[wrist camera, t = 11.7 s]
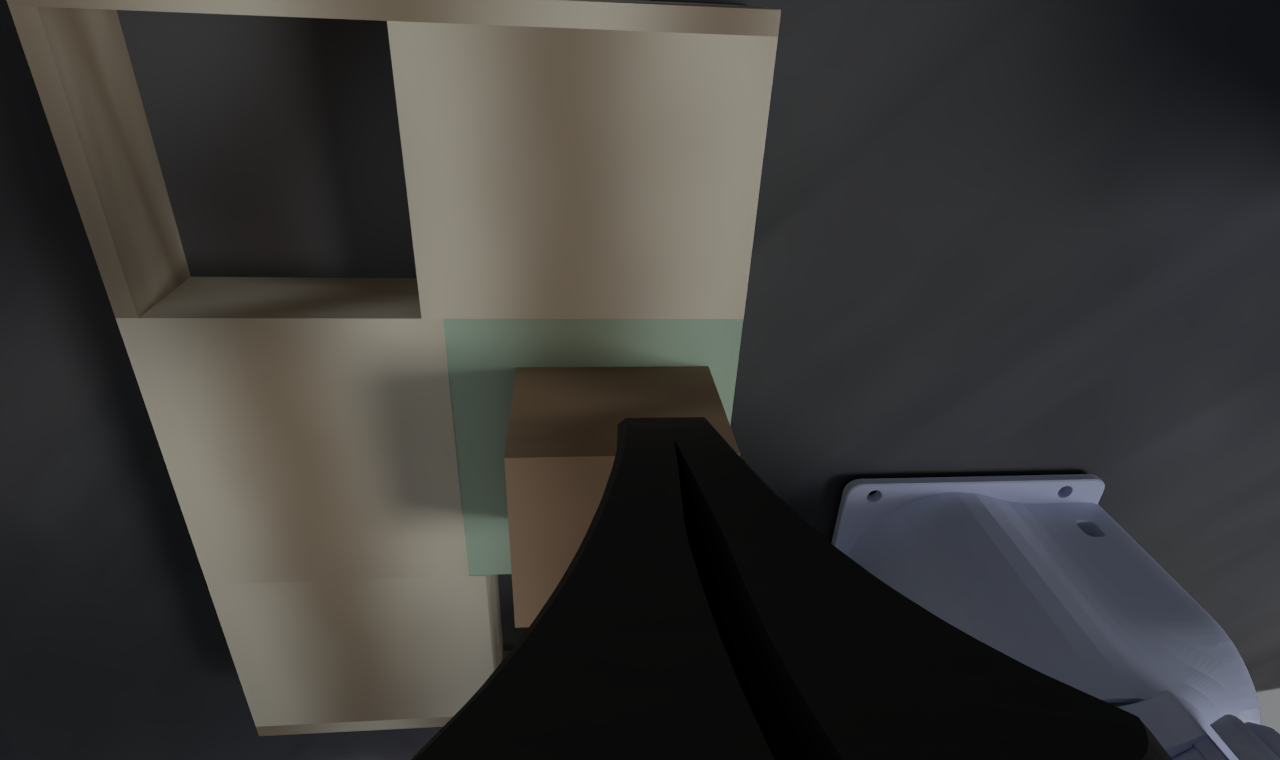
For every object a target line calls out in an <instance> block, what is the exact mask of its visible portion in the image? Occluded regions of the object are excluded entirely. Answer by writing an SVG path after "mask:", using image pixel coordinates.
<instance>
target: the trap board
mask: <svg viewBox="0 0 1280 760" xmlns="http://www.w3.org/2000/svg"><path fill="white" fill-rule="evenodd" d="M6 1H7V4H8V6H9V9H10V12H11V15H12V18H13V21H14V24H15V27H16V30H17V33H18V36H19V38H20V41H21V44H22V47H23V50H24V53H25V56H26V59H27V62H28V65H29V68H30V70H31V73H32V76H33V79H34V82H35V85H36V88H37V91H38V94H39V97H40V100H41V103H42V105H43V108H44V111H45V114H46V117H47V120H48V123H49V126H50V129H51V132H52V135H53V137H54V140H55V143H56V146H57V149H58V152H59V155H60V158H61V161H62V164H63V167H64V170H65V172H66V175H67V178H68V181H69V184H70V187H71V190H72V193H73V196H74V199H75V202H76V204H77V207H78V210H79V213H80V216H81V219H82V222H83V225H84V228H85V231H86V234H87V236H88V239H89V242H90V245H91V248H92V251H93V254H94V257H95V260H96V263H97V266H98V269H99V271H100V274H101V277H102V280H103V283H104V286H105V289H106V292H107V295H108V298H109V301H110V303H111V306H112V309H113V312H114V315H115V318H116V321H117V324H118V327H119V330H120V333H121V336H122V338H123V341H124V344H125V347H126V350H127V353H128V356H129V359H130V362H131V365H132V368H133V370H134V373H135V376H136V379H137V382H138V385H139V388H140V391H141V394H142V397H143V400H144V402H145V405H146V408H147V411H148V414H149V417H150V420H151V423H152V426H153V429H154V432H155V435H156V437H157V440H158V443H159V446H160V449H161V452H162V455H163V458H164V461H165V464H166V467H167V469H168V472H169V475H170V478H171V481H172V484H173V487H174V490H175V493H176V496H177V499H178V502H179V504H180V507H181V510H182V513H183V516H184V519H185V522H186V525H187V528H188V531H189V534H190V536H191V539H192V542H193V545H194V548H195V551H196V554H197V557H198V560H199V563H200V566H201V569H202V571H203V574H204V577H205V580H206V583H207V586H208V589H209V592H210V595H211V598H212V601H213V603H214V606H215V609H216V612H217V615H218V618H219V621H220V624H221V627H222V630H223V633H224V635H225V638H226V641H227V644H228V647H229V650H230V653H231V656H232V659H233V662H234V665H235V668H236V670H237V673H238V676H239V679H240V682H241V685H242V688H243V691H244V694H245V697H246V700H247V702H248V705H249V708H250V711H251V714H252V717H253V720H254V723H255V726H256V729H257V732H258V735H259V736H272V735H291V734H310V733H329V732H348V731H367V730H387V729H406V728H425V727H443V726H444V725H445V724H446V723H447V722H448V721H449V720H450V719H451V718H452V717H453V716H454V715H455V714H456V713H457V712H458V711H459V710H460V709H461V708H462V707H463V706H464V705H465V704H466V703H467V702H468V701H469V700H470V699H471V697H472V696H473V695H474V694H475V693H476V692H477V691H478V690H479V689H480V687H481V686H482V685H483V684H484V683H485V681H486V680H487V679H488V678H489V677H490V675H491V674H492V673H493V672H494V671H495V669H496V668H497V667H498V666H499V664H500V663H501V662H502V661H503V660H504V658H505V657H506V656H507V655H508V653H509V652H510V651H511V650H512V649H513V647H514V646H515V645H516V644H517V642H518V641H519V640H520V639H521V637H522V636H523V635H524V633H525V632H526V631H527V629H528V628H529V627H520V628H515V619H514V603H513V587H512V572H511V556H510V540H509V524H508V509H507V493H506V477H505V462H504V456H505V449H506V441H507V434H508V426H509V419H510V411H511V404H512V396H513V389H514V381H515V374H516V367H658V366H709V369H710V372H711V374H712V377H713V380H714V383H715V385H716V388H717V391H718V394H719V396H720V399H721V402H722V405H723V407H724V410H725V413H726V416H727V418H728V421H729V424H731V416H732V408H733V399H734V391H735V383H736V375H737V366H738V358H739V350H740V342H741V334H742V325H743V319H744V311H745V303H746V295H747V287H748V279H749V270H750V262H751V254H752V246H753V237H754V229H755V221H756V213H757V205H758V196H759V188H760V180H761V172H762V164H763V155H764V147H765V139H766V131H767V122H768V114H769V106H770V98H771V90H772V81H773V73H774V65H775V57H776V49H777V40H778V32H779V24H780V16H781V10H778V9H771V8H764V7H757V6H750V5H728V4H706V3H684V2H661V1H639V0H6Z"/></svg>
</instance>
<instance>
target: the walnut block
mask: <svg viewBox="0 0 1280 760" xmlns="http://www.w3.org/2000/svg"><path fill="white" fill-rule="evenodd" d="M663 417H705V418H706V419H707V420H708V422H709V423H710V424H711V425H712V426H713V427H714V428H715V429H716V430H717V431H718V433H719V434H720V435H721V436H722V437H723V438H724V439H725V440H726V442H727V443H728V444H729V445H730V446H731V447H732V448H733V449H734V451H735V452H736V453H737V454H738V455H739V456H740V451H739V449H738V446H737V443H736V440H735V438H734V435H733V432H732V429H731V427H730V424H729V421H728V418H727V416H726V413H725V410H724V407H723V405H722V402H721V399H720V396H719V394H718V391H717V388H716V385H715V383H714V380H713V377H712V374H711V372H710V369H709V366H658V367H516V374H515V381H514V389H513V396H512V404H511V411H510V419H509V426H508V434H507V441H506V449H505V456H504V462H505V477H506V493H507V509H508V524H509V540H510V556H511V572H512V587H513V603H514V619H515V628H520V627H530V625H531V624H532V622H533V621H534V620H535V618H536V617H537V615H538V614H539V612H540V611H541V609H542V608H543V606H544V605H545V603H546V602H547V600H548V599H549V597H550V596H551V594H552V593H553V591H554V590H555V588H556V587H557V585H558V584H559V582H560V580H561V579H562V577H563V575H564V574H565V572H566V570H567V569H568V567H569V565H570V563H571V562H572V560H573V558H574V556H575V554H576V552H577V551H578V549H579V547H580V545H581V543H582V541H583V539H584V537H585V535H586V533H587V530H588V528H589V526H590V524H591V522H592V519H593V517H594V515H595V513H596V511H597V508H598V506H599V504H600V501H601V499H602V496H603V494H604V491H605V488H606V485H607V482H608V479H609V476H610V473H611V470H612V467H613V463H614V459H615V455H616V451H617V427H618V424H619V423H620V422H621V421H622V420H623V419H625V418H663Z"/></svg>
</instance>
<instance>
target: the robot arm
mask: <svg viewBox="0 0 1280 760" xmlns="http://www.w3.org/2000/svg"><path fill="white" fill-rule="evenodd" d="M1063 487H1064V488H1063ZM1104 487H1105V485H1104V482H1103V481H1102V480H1101V479H1099V478H1098V477H1097V476H1096V475H1093V474H1070V475H1022V476H974V477H926V478H878V479H856V480H853V481H851V482H849V483H848V484H847V485H846V486H845V488H844V490H843V493H842V498H841V502H840V507H839V511H838V516H837V520H836V525H835V529H834V534H833V538H832V542H831V543H830V542H829V541H828V540H827V539H825V538H824V537H823V536H822V535H820V534H819V533H818V532H817V531H816V530H815V529H814V528H812V527H811V526H810V525H809V524H808V523H807V522H806V521H804V520H803V519H802V518H801V517H800V516H799V515H798V514H796V513H795V512H794V511H793V510H792V509H791V508H790V507H789V506H788V505H787V504H786V503H784V502H783V501H782V500H781V499H780V498H779V497H778V496H777V495H776V494H775V493H774V492H773V491H772V490H771V489H770V488H769V487H768V486H767V485H766V484H765V483H764V482H763V481H762V480H761V478H760V477H759V476H758V475H757V474H756V473H755V472H754V471H753V470H752V469H751V468H750V467H749V466H748V465H747V464H746V463H745V462H744V460H743V459H742V458H741V457H740V456H739V455H738V454H737V453H736V452H735V451H734V449H733V448H732V447H731V446H730V445H729V444H728V443H727V442H726V440H725V439H724V438H723V437H722V436H721V435H720V434H719V433H718V431H717V430H716V429H715V428H714V427H713V426H712V425H711V424H710V423H709V422H708V420H707V419H706V418H705V417H663V418H625V419H623V420H622V421H621V422H620V423H619V424H618V427H617V451H616V455H615V459H614V463H613V467H612V470H611V473H610V476H609V479H608V482H607V485H606V488H605V491H604V494H603V496H602V499H601V501H600V504H599V506H598V508H597V511H596V513H595V515H594V517H593V519H592V522H591V524H590V526H589V528H588V530H587V533H586V535H585V537H584V539H583V541H582V543H581V545H580V547H579V549H578V551H577V552H576V554H575V556H574V558H573V560H572V562H571V563H570V565H569V567H568V569H567V570H566V572H565V574H564V575H563V577H562V579H561V580H560V582H559V584H558V585H557V587H556V588H555V590H554V591H553V593H552V594H551V596H550V597H549V599H548V600H547V602H546V603H545V605H544V606H543V608H542V609H541V611H540V612H539V614H538V615H537V617H536V618H535V620H534V621H533V622H532V624H531V625H530V627H529V628H528V629H527V631H526V632H525V633H524V635H523V636H522V637H521V639H520V640H519V641H518V642H517V644H516V645H515V646H514V647H513V649H512V650H511V651H510V652H509V653H508V655H507V656H506V657H505V658H504V660H503V661H502V662H501V663H500V664H499V666H498V667H497V668H496V669H495V671H494V672H493V673H492V674H491V675H490V677H489V678H488V679H487V680H486V681H485V683H484V684H483V685H482V686H481V687H480V689H479V690H478V691H477V692H476V693H475V694H474V695H473V696H472V697H471V699H470V700H469V701H468V702H467V703H466V704H465V705H464V706H463V707H462V708H461V709H460V710H459V711H458V712H457V713H456V714H455V715H454V716H453V717H452V718H451V719H450V720H449V721H448V722H447V723H446V724H445V725H444V726H443V728H442V729H441V730H440V731H439V732H438V733H437V734H436V735H435V736H434V737H433V738H432V739H431V740H430V741H429V742H428V743H427V744H426V745H425V746H424V747H423V748H422V749H421V750H420V751H419V752H418V753H417V754H416V755H415V756H414V757H413V758H412V760H1280V734H1279V733H1277V732H1276V731H1275V730H1274V729H1272V728H1270V727H1266V726H1262V725H1260V709H1259V703H1258V698H1257V695H1256V691H1255V688H1254V685H1253V682H1252V680H1251V677H1250V675H1249V673H1248V670H1247V668H1246V666H1245V664H1244V662H1243V660H1242V658H1241V656H1240V654H1239V652H1238V651H1237V649H1236V647H1235V646H1234V644H1233V642H1232V641H1231V640H1230V638H1229V637H1228V635H1227V634H1226V633H1225V631H1224V630H1223V629H1222V628H1221V626H1220V625H1219V624H1218V623H1217V622H1216V621H1215V620H1214V619H1213V618H1212V617H1211V616H1210V615H1209V614H1208V613H1207V612H1206V611H1205V610H1204V609H1203V608H1202V607H1201V606H1200V605H1199V604H1198V603H1197V602H1196V601H1195V600H1194V599H1193V598H1192V597H1191V596H1190V595H1189V594H1188V593H1187V592H1186V591H1185V590H1184V589H1183V588H1182V587H1181V586H1180V585H1179V584H1178V583H1177V582H1176V581H1175V580H1174V579H1173V578H1172V577H1171V576H1170V575H1169V574H1168V573H1167V572H1166V571H1165V570H1164V569H1163V568H1162V567H1161V566H1160V565H1159V564H1158V563H1157V562H1156V561H1155V560H1154V559H1153V558H1152V557H1151V556H1150V555H1149V554H1148V553H1147V552H1146V551H1145V550H1144V549H1143V548H1142V547H1141V546H1140V545H1139V544H1138V543H1137V542H1136V541H1135V540H1134V539H1133V538H1132V537H1131V536H1130V535H1129V534H1128V533H1127V532H1126V531H1125V530H1124V529H1123V528H1122V527H1121V526H1120V525H1119V524H1118V523H1117V522H1116V521H1115V520H1113V519H1112V518H1111V517H1110V516H1109V515H1108V514H1107V513H1106V512H1105V511H1104V510H1103V509H1102V508H1101V507H1100V506H1099V505H1098V502H1099V500H1100V498H1101V495H1102V493H1103V491H1104ZM1061 488H1062V489H1061ZM1060 489H1061V490H1060ZM875 490H877V491H876V493H874V494H873V495H868V494H869V493H870V492H872V491H875Z"/></svg>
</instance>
